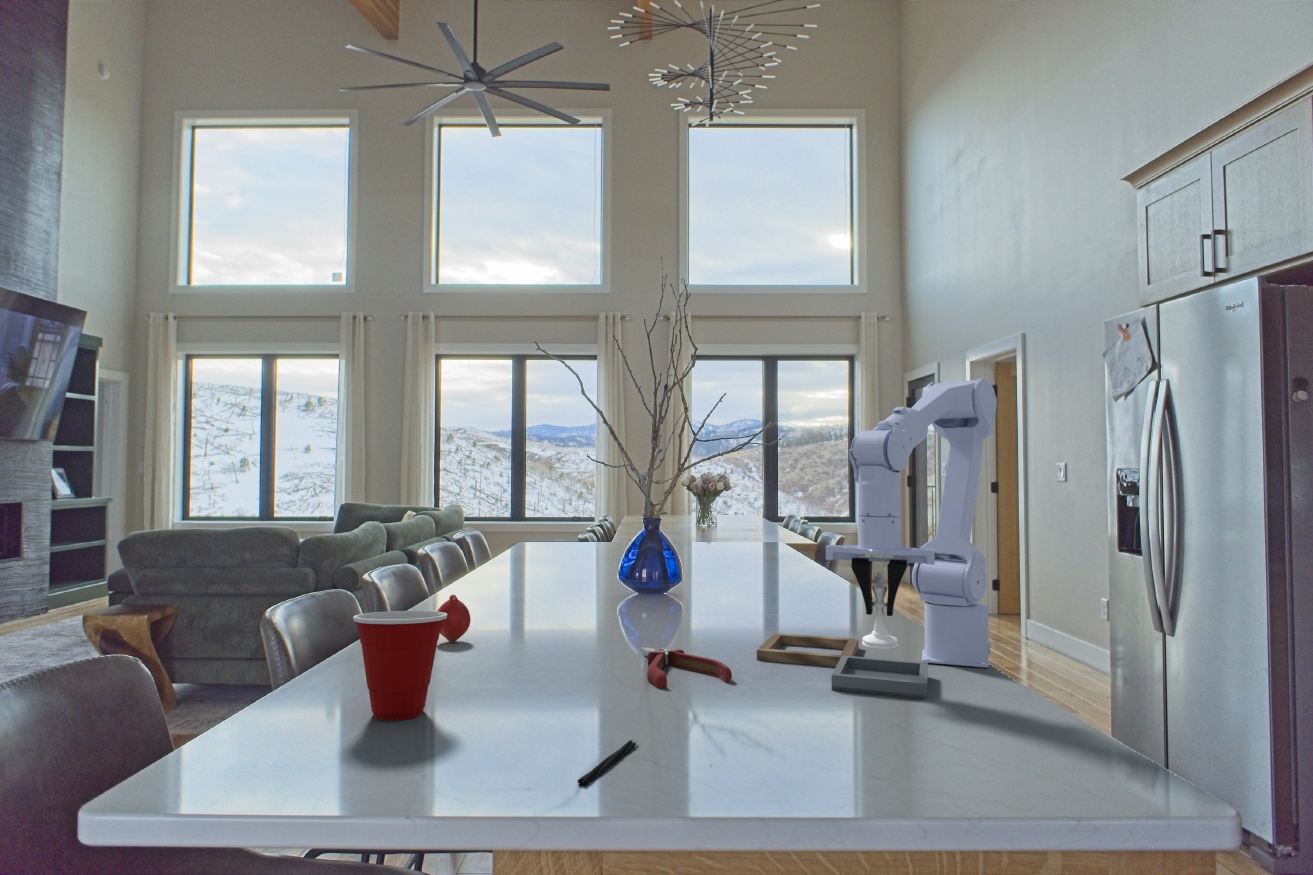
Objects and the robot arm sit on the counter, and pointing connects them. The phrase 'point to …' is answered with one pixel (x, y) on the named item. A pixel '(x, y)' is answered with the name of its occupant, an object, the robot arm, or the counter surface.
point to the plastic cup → (398, 659)
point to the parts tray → (881, 677)
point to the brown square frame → (772, 654)
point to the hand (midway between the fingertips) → (879, 614)
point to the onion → (454, 619)
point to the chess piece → (880, 621)
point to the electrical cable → (606, 763)
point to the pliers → (681, 665)
